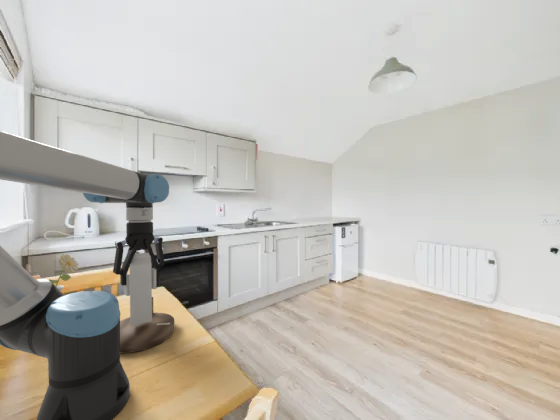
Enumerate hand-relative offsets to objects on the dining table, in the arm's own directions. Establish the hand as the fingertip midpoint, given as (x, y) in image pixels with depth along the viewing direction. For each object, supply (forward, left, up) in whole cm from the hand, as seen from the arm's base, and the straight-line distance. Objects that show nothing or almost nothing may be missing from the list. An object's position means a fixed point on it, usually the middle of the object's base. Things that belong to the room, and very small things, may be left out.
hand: (140, 291), depth 79 cm
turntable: (0, 0, -15) cm, 15 cm away
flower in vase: (-16, +30, -15) cm, 37 cm away
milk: (0, 0, -10) cm, 10 cm away
